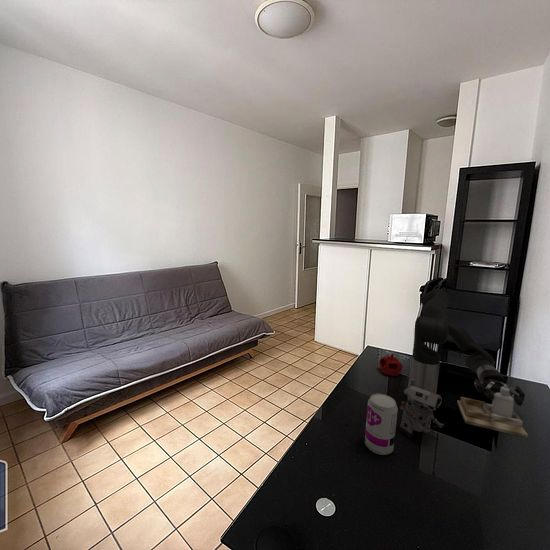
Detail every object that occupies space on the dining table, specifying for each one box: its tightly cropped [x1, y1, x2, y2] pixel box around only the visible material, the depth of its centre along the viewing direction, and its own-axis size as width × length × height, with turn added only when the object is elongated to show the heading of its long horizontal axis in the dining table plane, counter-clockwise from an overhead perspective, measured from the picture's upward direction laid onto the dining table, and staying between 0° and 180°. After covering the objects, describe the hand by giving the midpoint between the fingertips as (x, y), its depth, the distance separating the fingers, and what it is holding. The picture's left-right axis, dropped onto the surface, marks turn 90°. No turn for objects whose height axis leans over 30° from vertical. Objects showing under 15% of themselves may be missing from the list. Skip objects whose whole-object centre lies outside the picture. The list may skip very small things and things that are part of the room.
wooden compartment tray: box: [456, 396, 529, 439], centre depth 100 cm, size 17×13×3 cm
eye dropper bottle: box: [491, 384, 515, 418], centre depth 99 cm, size 4×6×12 cm
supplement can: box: [364, 393, 399, 456], centre depth 85 cm, size 8×8×15 cm
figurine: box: [398, 385, 449, 438], centre depth 91 cm, size 9×12×15 cm
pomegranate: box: [378, 353, 404, 377], centre depth 131 cm, size 10×10×9 cm
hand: (506, 400), depth 97 cm, fingers open, 7 cm apart
